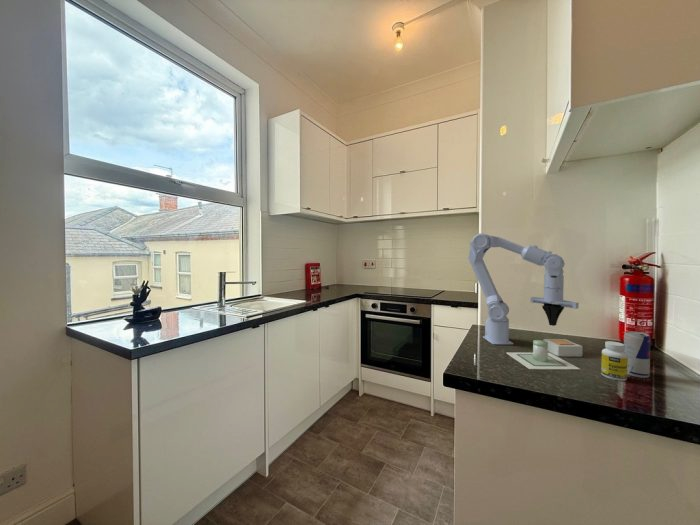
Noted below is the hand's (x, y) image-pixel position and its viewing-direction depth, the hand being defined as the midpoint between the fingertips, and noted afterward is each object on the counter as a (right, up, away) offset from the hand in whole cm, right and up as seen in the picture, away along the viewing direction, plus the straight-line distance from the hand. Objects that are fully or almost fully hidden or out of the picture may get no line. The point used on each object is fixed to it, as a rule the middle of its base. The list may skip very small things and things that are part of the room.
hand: (552, 325), depth 102 cm
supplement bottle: (+2, -10, -22) cm, 24 cm away
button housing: (+2, -9, -2) cm, 10 cm away
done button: (+2, -8, -2) cm, 8 cm away
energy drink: (+10, -10, -20) cm, 25 cm away
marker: (-11, -9, -9) cm, 17 cm away
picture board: (-11, -10, -9) cm, 17 cm away
